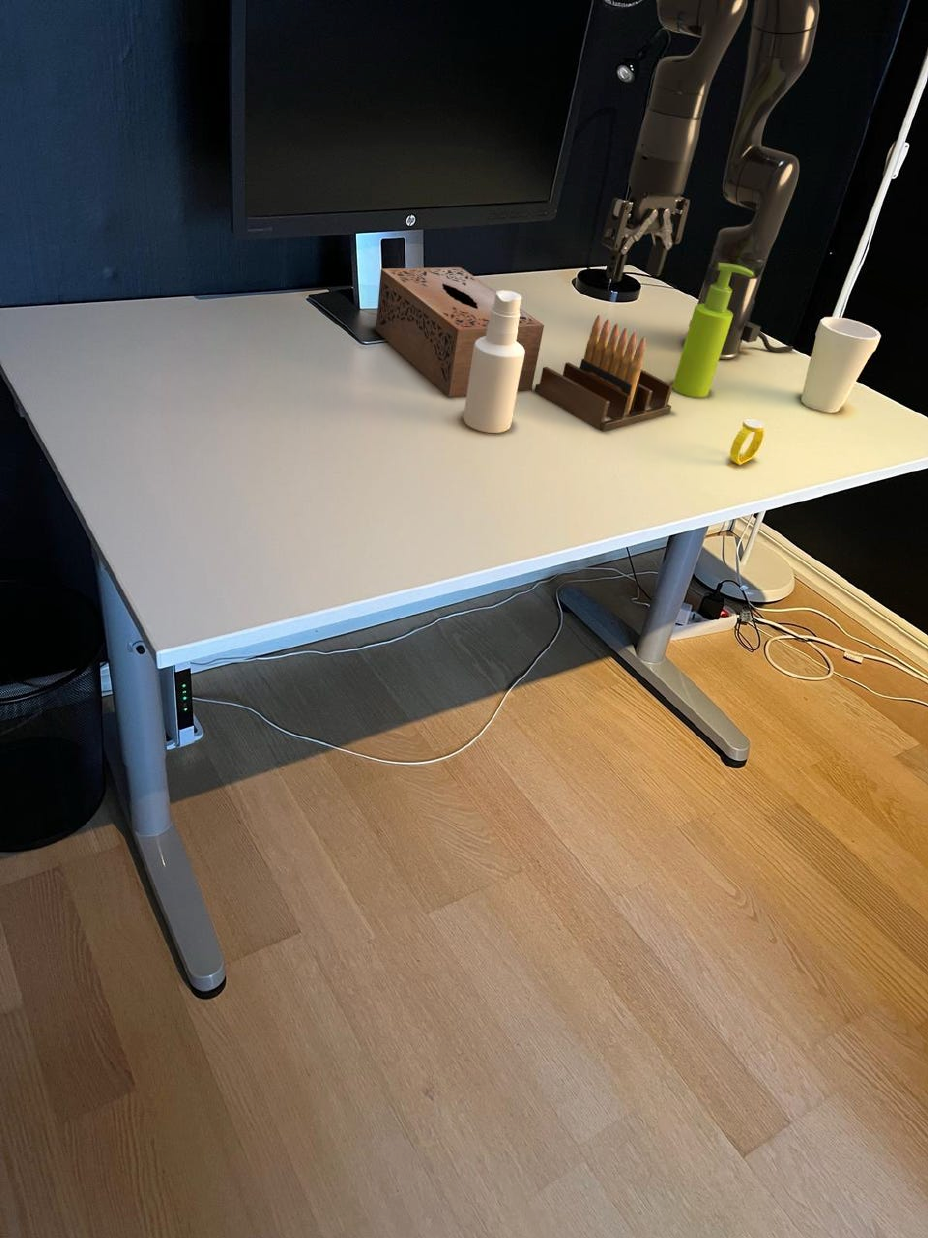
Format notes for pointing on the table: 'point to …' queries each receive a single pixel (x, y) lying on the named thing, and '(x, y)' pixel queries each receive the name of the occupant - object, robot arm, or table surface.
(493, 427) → the spray bottle
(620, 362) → the ammunition clip
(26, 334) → the table surface
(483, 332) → the tissue box cover
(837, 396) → the foam cup
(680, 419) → the table surface
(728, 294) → the soap dispenser
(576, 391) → the slotted rack
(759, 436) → the watch
